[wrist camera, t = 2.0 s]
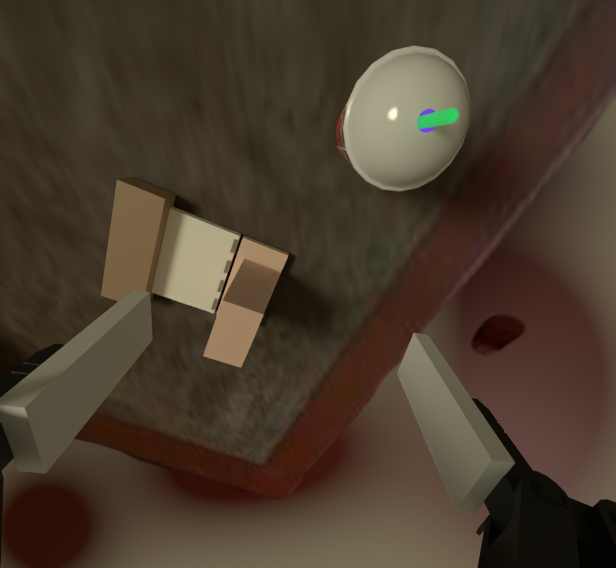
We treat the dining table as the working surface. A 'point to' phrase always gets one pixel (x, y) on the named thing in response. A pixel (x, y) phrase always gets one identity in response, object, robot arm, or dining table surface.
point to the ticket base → (164, 248)
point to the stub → (244, 300)
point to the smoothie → (405, 119)
